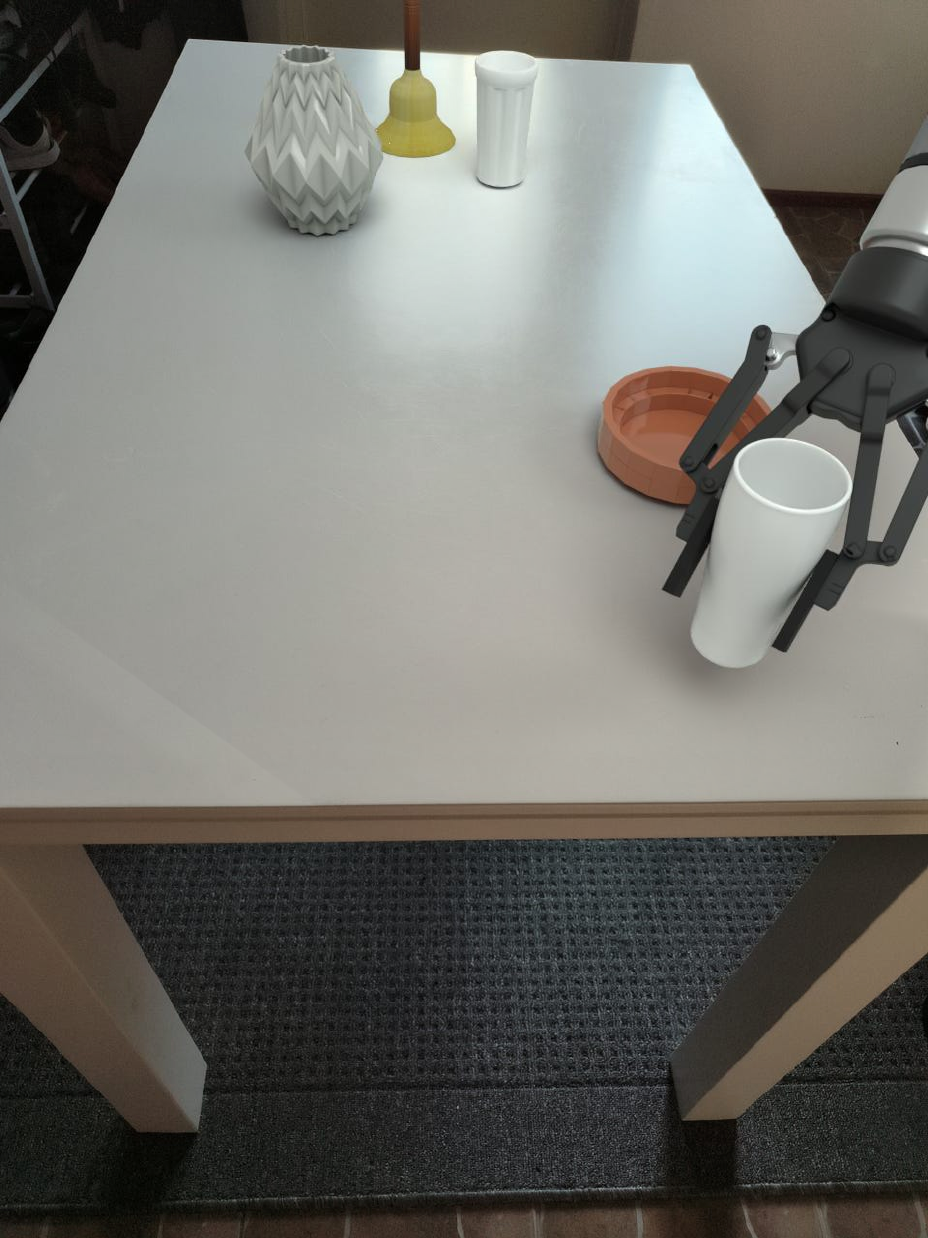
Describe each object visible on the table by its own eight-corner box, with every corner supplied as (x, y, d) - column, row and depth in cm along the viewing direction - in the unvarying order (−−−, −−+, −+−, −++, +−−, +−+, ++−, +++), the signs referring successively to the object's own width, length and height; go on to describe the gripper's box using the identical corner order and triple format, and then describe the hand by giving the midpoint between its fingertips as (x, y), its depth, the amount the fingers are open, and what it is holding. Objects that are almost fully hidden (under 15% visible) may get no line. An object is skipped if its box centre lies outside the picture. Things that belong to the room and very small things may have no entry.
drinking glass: (757, 696, 58) (835, 529, 47) (662, 653, 61) (714, 484, 49) (790, 630, 62) (869, 461, 51) (699, 592, 64) (755, 421, 53)
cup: (506, 198, 117) (514, 77, 106) (458, 180, 120) (461, 61, 109) (541, 178, 121) (552, 60, 111) (493, 161, 124) (499, 45, 114)
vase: (228, 225, 110) (199, 56, 96) (317, 180, 119) (302, 20, 105) (327, 266, 104) (312, 93, 90) (413, 216, 113) (411, 51, 99)
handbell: (353, 135, 129) (340, -80, 110) (420, 115, 134) (418, -93, 115) (405, 164, 123) (401, -57, 104) (473, 142, 128) (481, -72, 109)
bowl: (775, 429, 87) (790, 390, 83) (747, 531, 77) (761, 491, 74) (621, 389, 90) (628, 350, 87) (575, 482, 80) (582, 443, 77)
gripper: (1080, 353, 52) (875, 697, 55) (766, 248, 59) (604, 557, 63) (1114, 306, 45) (878, 703, 48) (754, 193, 52) (572, 545, 56)
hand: (723, 620), depth 55 cm, fingers closed on drinking glass, 7 cm apart
